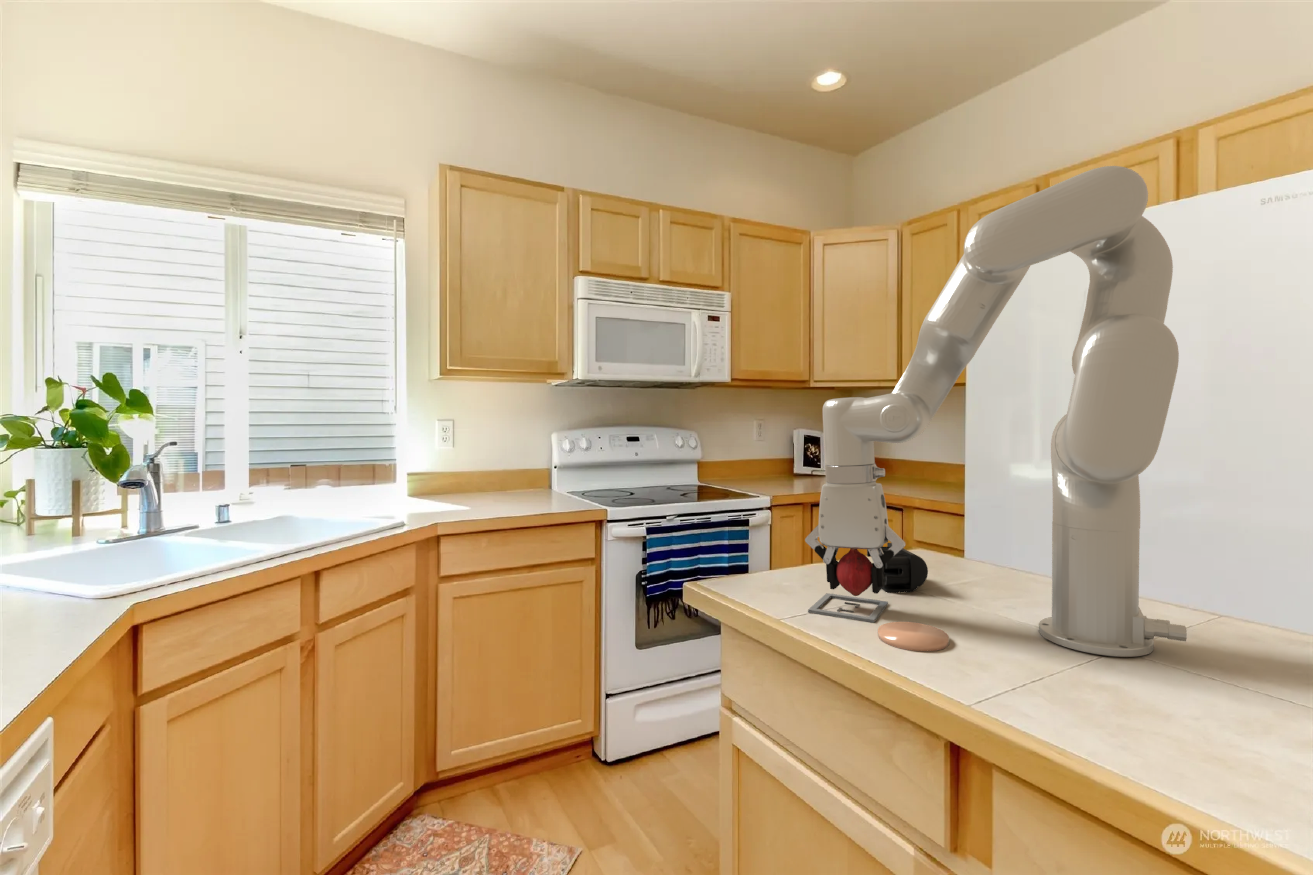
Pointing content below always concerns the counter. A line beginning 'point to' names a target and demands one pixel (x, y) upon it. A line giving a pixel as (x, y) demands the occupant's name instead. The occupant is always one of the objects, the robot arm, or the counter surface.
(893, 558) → the end cap
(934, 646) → the disc
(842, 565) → the onion
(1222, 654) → the counter surface
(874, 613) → the frame
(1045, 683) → the counter surface
